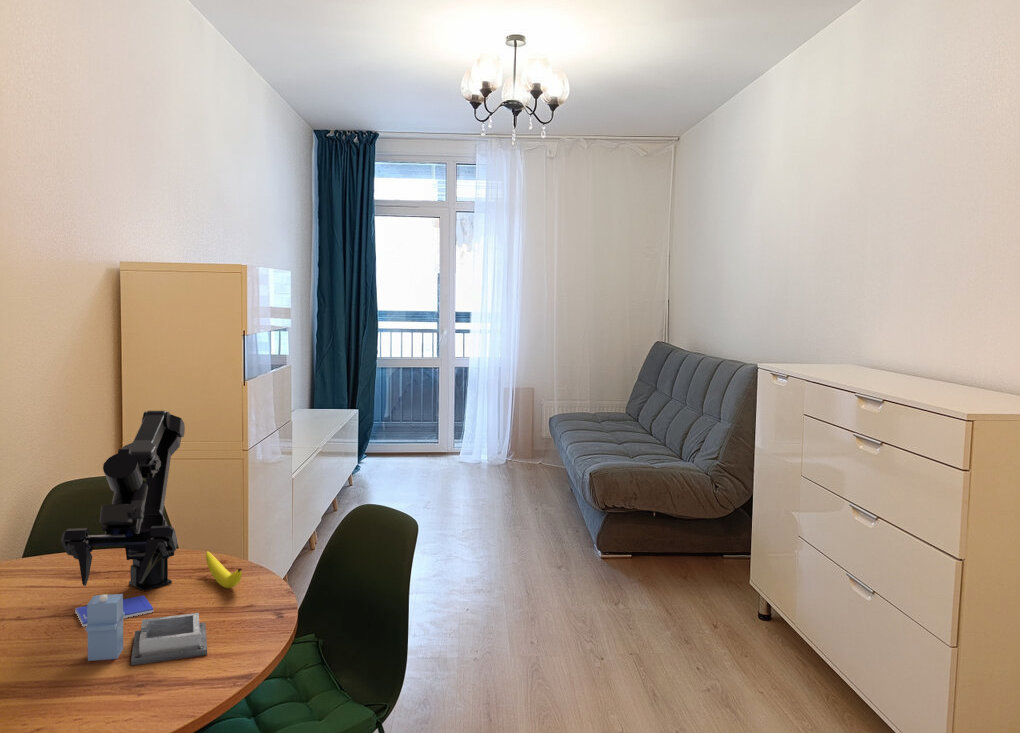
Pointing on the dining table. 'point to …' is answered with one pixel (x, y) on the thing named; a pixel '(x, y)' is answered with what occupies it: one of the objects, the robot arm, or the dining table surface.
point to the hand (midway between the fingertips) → (112, 583)
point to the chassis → (169, 639)
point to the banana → (222, 572)
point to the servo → (105, 627)
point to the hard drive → (130, 608)
